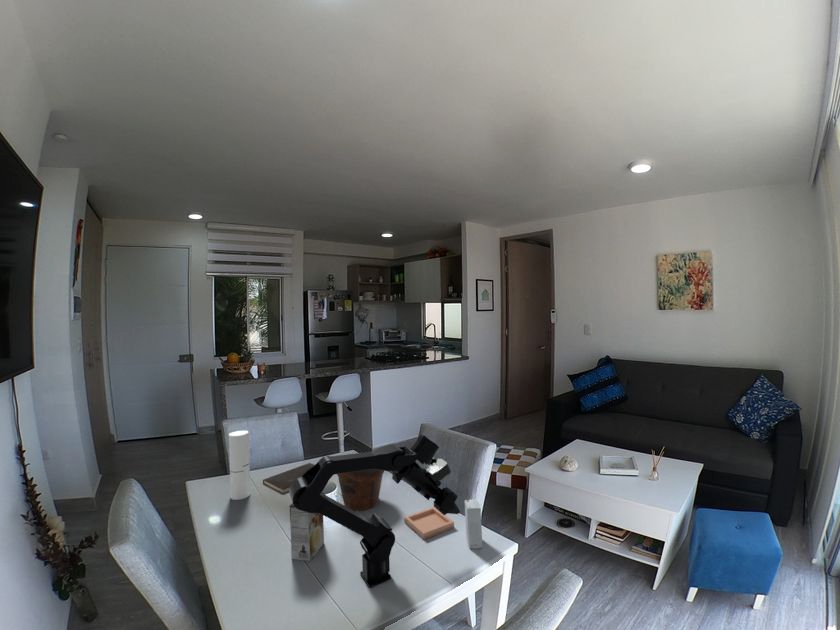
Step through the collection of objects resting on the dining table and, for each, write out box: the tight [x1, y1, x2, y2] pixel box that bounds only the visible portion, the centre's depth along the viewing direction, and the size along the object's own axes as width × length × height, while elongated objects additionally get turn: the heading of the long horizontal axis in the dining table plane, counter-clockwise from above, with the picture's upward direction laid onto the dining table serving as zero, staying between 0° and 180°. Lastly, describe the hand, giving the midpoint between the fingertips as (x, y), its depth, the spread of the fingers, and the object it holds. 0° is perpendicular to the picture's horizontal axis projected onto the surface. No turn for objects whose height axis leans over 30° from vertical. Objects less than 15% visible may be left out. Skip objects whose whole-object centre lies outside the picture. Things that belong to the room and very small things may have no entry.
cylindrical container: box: [228, 430, 251, 501], centre depth 156 cm, size 7×7×25 cm
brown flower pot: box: [336, 469, 385, 511], centre depth 148 cm, size 18×20×18 cm
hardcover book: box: [262, 462, 315, 494], centre depth 171 cm, size 16×23×2 cm
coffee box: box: [289, 502, 325, 562], centre depth 118 cm, size 9×6×16 cm
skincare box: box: [464, 499, 483, 549], centre depth 121 cm, size 6×4×12 cm
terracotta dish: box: [404, 506, 455, 540], centre depth 131 cm, size 12×12×2 cm
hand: (450, 505), depth 117 cm, fingers open, 9 cm apart
